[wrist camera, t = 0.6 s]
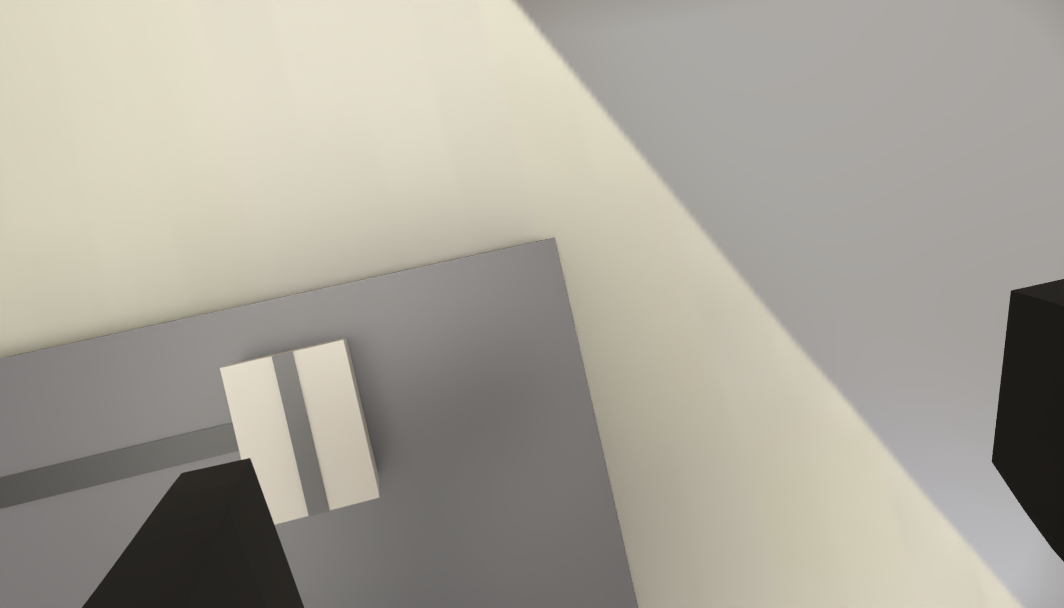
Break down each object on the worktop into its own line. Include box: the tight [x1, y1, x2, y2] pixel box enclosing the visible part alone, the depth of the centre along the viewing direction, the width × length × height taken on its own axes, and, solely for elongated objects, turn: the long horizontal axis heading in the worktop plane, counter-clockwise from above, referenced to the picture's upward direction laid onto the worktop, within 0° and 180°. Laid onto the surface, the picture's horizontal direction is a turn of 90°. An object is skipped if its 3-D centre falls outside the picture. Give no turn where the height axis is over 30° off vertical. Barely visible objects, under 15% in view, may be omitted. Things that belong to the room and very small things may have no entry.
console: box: [0, 238, 638, 608], centre depth 27 cm, size 16×24×2 cm, turn 103°
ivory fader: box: [220, 338, 380, 525], centre depth 25 cm, size 4×3×3 cm
